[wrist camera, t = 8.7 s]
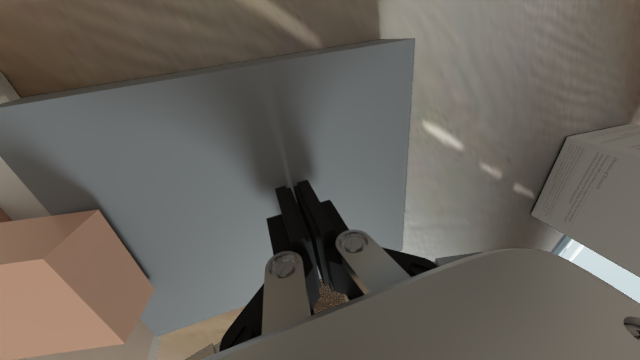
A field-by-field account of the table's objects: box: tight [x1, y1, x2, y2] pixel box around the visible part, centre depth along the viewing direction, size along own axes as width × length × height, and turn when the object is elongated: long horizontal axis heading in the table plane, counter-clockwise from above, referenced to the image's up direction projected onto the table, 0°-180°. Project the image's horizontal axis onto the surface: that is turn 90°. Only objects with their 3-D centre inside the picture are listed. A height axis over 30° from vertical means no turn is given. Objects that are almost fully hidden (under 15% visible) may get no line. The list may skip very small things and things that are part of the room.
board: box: [0, 38, 415, 337], centre depth 14 cm, size 16×13×3 cm
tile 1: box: [0, 210, 155, 360], centre depth 10 cm, size 5×5×2 cm
